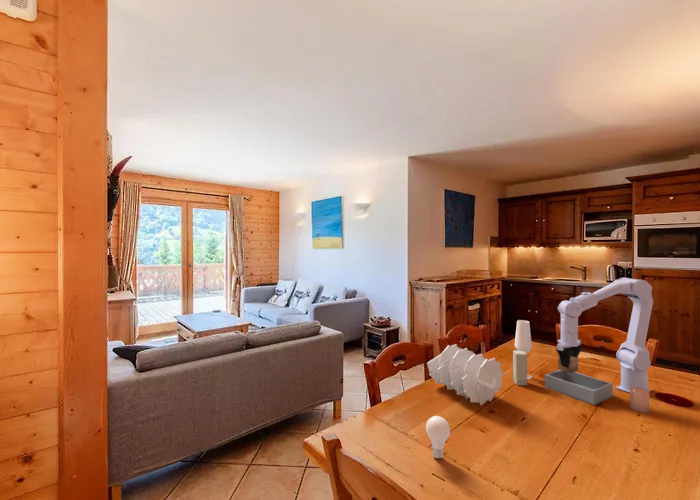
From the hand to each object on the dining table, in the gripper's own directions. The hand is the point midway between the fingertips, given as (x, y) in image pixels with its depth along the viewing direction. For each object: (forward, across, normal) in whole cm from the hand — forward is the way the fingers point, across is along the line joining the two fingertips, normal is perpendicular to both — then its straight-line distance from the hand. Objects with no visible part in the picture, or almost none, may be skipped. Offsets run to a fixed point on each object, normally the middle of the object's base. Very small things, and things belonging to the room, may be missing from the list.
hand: (568, 365), depth 132 cm
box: (+10, +11, -13) cm, 20 cm away
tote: (+9, 0, +3) cm, 10 cm away
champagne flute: (+10, +3, -17) cm, 20 cm away
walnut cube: (+2, 0, 0) cm, 2 cm away
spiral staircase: (+10, +39, -19) cm, 44 cm away
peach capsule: (+10, -3, +21) cm, 24 cm away
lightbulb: (+10, +76, +2) cm, 77 cm away
